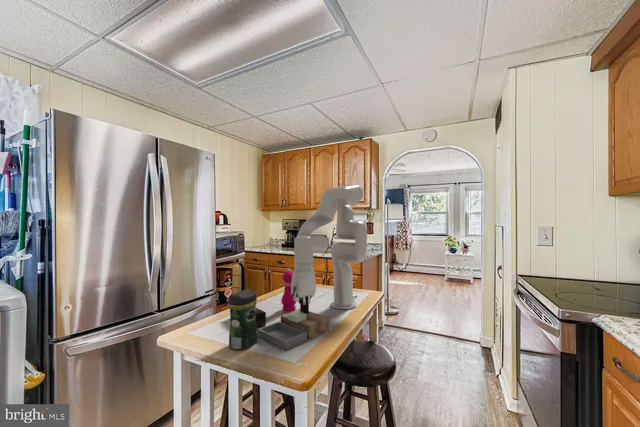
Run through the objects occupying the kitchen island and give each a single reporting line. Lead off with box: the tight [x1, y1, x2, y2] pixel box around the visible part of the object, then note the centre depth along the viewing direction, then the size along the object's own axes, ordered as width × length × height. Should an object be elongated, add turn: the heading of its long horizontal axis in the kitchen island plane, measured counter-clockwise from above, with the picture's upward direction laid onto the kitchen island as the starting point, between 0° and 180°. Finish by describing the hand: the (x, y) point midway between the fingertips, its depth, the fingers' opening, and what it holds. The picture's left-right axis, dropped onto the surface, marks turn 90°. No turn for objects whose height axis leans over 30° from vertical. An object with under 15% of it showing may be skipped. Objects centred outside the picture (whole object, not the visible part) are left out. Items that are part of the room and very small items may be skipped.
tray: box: [257, 321, 308, 352], centre depth 97 cm, size 10×16×3 cm, turn 47°
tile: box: [288, 311, 306, 323], centre depth 103 cm, size 5×5×2 cm
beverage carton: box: [256, 307, 267, 329], centre depth 114 cm, size 8×19×7 cm, turn 40°
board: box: [280, 308, 330, 341], centre depth 106 cm, size 11×16×5 cm
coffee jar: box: [227, 288, 259, 351], centre depth 94 cm, size 10×8×19 cm
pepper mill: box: [280, 267, 297, 313], centre depth 129 cm, size 7×7×20 cm
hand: (304, 313), depth 106 cm, fingers closed
